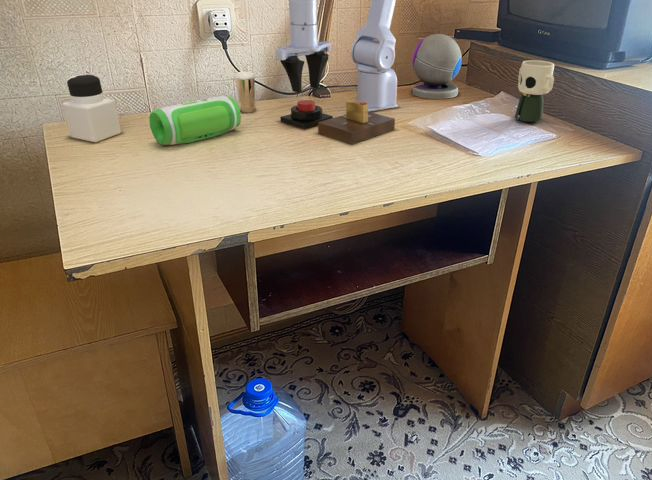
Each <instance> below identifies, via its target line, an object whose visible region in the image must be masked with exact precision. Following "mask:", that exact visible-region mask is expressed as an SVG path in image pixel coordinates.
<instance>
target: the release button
mask: <svg viewBox="0 0 652 480" xmlns="http://www.w3.org/2000/svg"><path fill="white" fill-rule="evenodd" d="M315 105H316V101H314V100H311V99H301V100H298V101H297V103H296V106H298V110H299V111H314V110H315Z"/></svg>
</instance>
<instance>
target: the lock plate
mask: <svg viewBox="0 0 652 480" xmlns="http://www.w3.org/2000/svg"><path fill="white" fill-rule="evenodd" d="M395 123H396V118H394V117H390V116H386V115H383V114H379V113H376V112H373V111H371V112H368V122H366V123H360V122H357V121H353V120H350V119H346V113H345V114H342V115H338V116H334V117H333V118H331V119H328V120H324V121H321V122H318V126H317V134H318V135H321V136H324V137H327V138H331V139H334V140H337V141H339V142H343V143H346V144H349V145H354V144H357V143H360V142H363V141H366V140H369V139H372V138H375V137H377V136H380V135H384V134H386V133H389V132H392V131H395V127H396V126H395V125H396V124H395Z"/></svg>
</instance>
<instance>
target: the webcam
mask: <svg viewBox="0 0 652 480" xmlns="http://www.w3.org/2000/svg"><path fill="white" fill-rule="evenodd" d="M462 62H463V55H462V51H461V49H460V46H459V44H458V43H457V41H456V40H454V39H453V38H452V37H451V36H449V35H446V34H443V33H434V34H430V35H428V36H426V37H424V38H423V39H422V40H421V41H420V42H419V43H418V45H417V47H416V49H415V51H414V54H413V57H412V68H413V71H414V74H415V75H416V77H417V78H418V80H420V81H421V82H422V84H417V85H415V86H413V89H412V95H413V96H416V97H418V98H423V99H433V100H434V99H435V100H443V99H445V100H446V99H452V98H455V97H457V96H458V94H459V87H458V85H456V84H453V83H452V81H453V80H454V79H455V78H456V77H457V75H458V74H459V72H460V70H461V67H462ZM450 82H451V83H450Z"/></svg>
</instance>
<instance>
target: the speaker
mask: <svg viewBox="0 0 652 480" xmlns="http://www.w3.org/2000/svg"><path fill="white" fill-rule="evenodd" d="M241 122H242V111H241V108H240V105H239V103H237V100H235V98H233V97H231V96H226V95H219V96H213V97H208V98H204V99H197V100H192V101H187V102H183V103H182V102H181V103H178V104H176V103H175V104H171V105H168V106H167V105H166V106H162V107H159V108H157V109H155V110H153V111H152V112H150V114H149V127H150V130H151V133H152V135H153V137H154V139H155V141H156V142H157V143H158V144H159V145H162V146H175V145H178V144H179V145H180V144H189V143H193V142H194V143H195V142H199V141H202V140H206V139H211V138H214V137H218V136H220V135H222V134H225V133H228V132H230V131H233V130H234V129H236V128H238V127H239V126H240V125H241Z"/></svg>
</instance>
